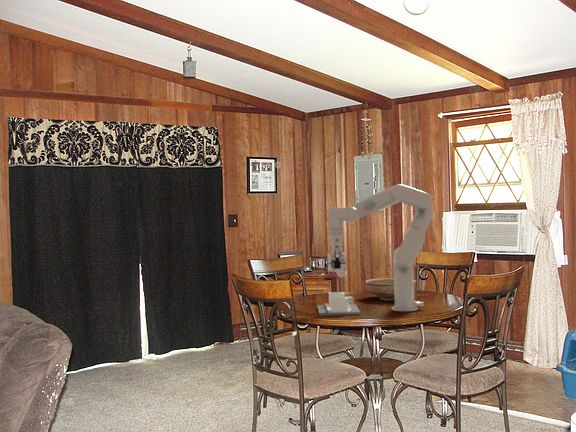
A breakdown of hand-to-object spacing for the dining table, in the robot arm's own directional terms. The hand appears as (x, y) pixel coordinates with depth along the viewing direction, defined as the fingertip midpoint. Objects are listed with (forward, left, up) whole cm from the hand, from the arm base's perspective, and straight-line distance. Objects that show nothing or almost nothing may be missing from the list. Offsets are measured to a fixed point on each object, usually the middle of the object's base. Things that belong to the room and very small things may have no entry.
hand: (336, 267), depth 322 cm
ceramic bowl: (-32, -38, -22) cm, 54 cm away
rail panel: (0, 0, -22) cm, 22 cm away
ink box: (0, 0, -5) cm, 5 cm away
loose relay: (-7, -21, -22) cm, 31 cm away
